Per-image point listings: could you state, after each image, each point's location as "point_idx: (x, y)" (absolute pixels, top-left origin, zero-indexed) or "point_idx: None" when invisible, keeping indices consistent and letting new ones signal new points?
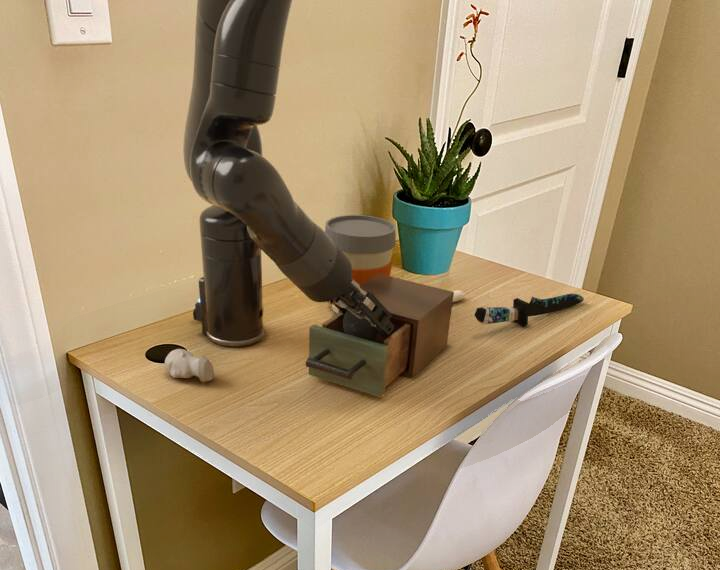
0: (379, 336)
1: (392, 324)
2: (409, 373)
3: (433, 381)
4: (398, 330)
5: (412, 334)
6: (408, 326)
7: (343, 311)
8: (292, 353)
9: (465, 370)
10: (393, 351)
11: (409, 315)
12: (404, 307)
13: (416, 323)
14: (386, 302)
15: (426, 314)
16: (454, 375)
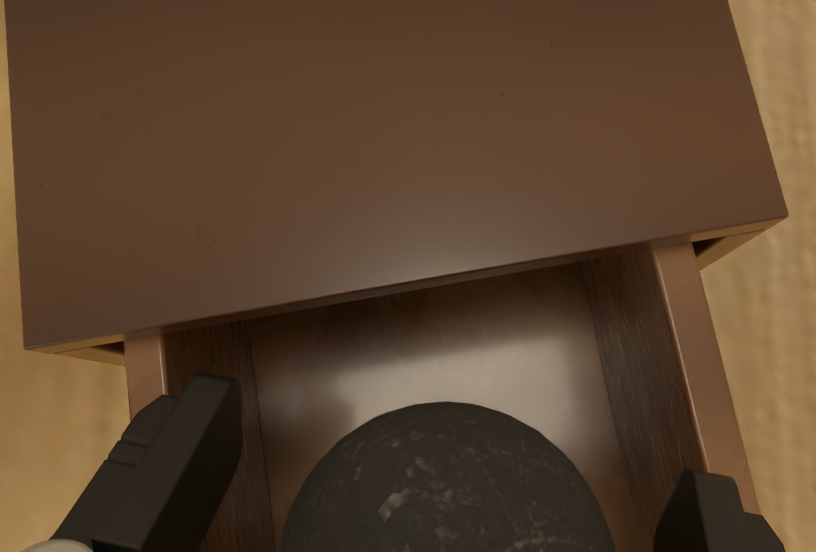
0: None
1: (739, 502)
2: None
3: (741, 256)
4: (698, 394)
5: (698, 254)
6: (697, 267)
7: (203, 535)
8: (10, 527)
9: (777, 51)
10: None
11: (667, 187)
12: (534, 90)
13: (759, 227)
14: (363, 116)
15: (745, 67)
16: (773, 131)
